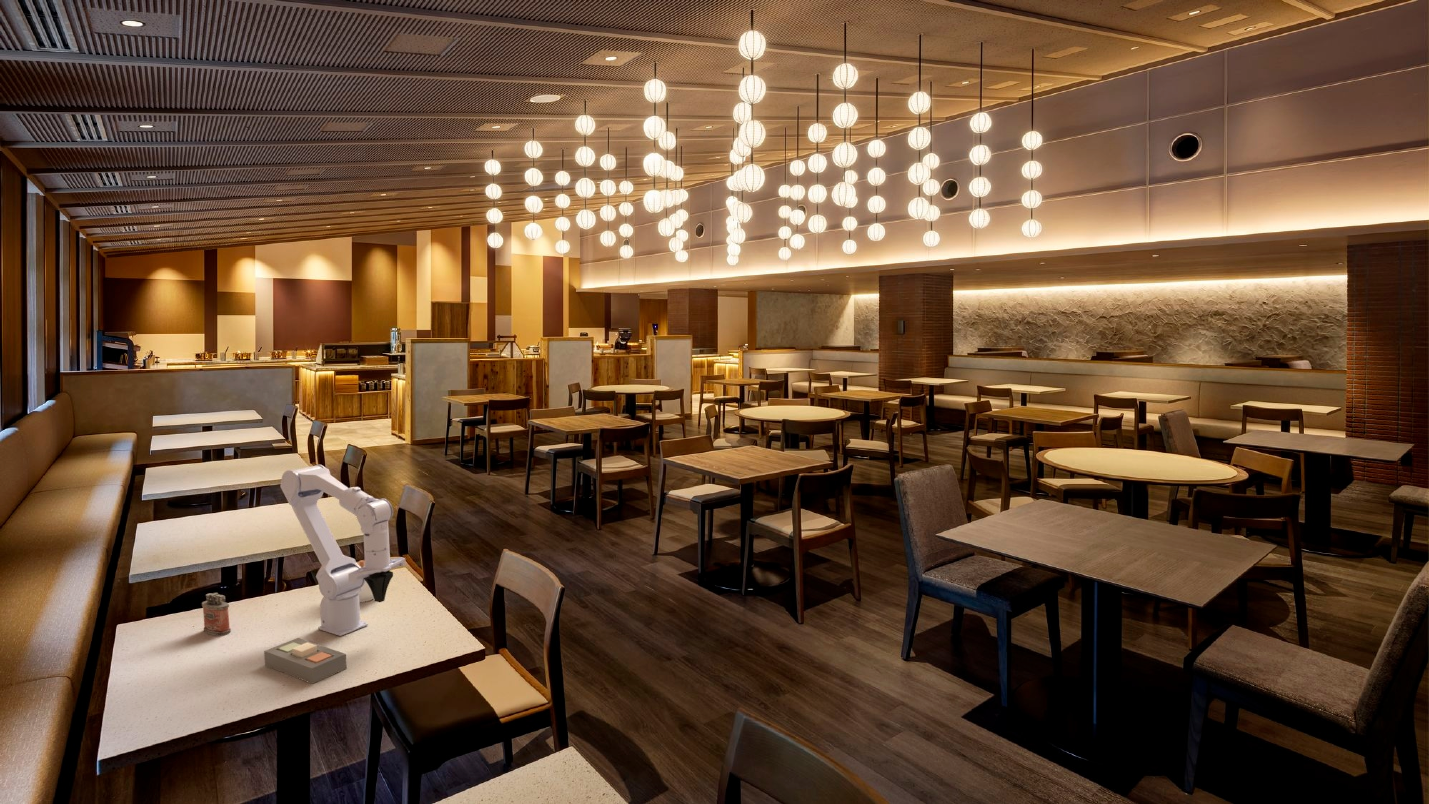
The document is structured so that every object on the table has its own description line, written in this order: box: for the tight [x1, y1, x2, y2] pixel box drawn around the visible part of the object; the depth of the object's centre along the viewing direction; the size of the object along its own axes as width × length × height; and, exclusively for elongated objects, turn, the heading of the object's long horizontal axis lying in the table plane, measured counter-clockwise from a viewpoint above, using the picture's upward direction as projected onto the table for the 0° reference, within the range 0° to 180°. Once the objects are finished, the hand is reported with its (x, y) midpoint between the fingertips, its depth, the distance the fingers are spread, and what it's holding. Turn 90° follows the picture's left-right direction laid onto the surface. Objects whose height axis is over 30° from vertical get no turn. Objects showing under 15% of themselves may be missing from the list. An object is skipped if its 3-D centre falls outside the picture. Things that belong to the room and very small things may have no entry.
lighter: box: [201, 592, 231, 637], centre depth 182 cm, size 8×3×10 cm, turn 68°
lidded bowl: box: [356, 559, 374, 603], centre depth 205 cm, size 13×13×11 cm
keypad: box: [263, 637, 347, 685], centre depth 163 cm, size 18×8×4 cm, turn 62°
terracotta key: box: [307, 652, 332, 664], centre depth 161 cm, size 4×4×2 cm
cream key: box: [292, 642, 317, 658], centre depth 163 cm, size 4×4×2 cm
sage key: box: [278, 642, 300, 653], centre depth 166 cm, size 4×4×2 cm
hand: (379, 600), depth 179 cm, fingers closed
